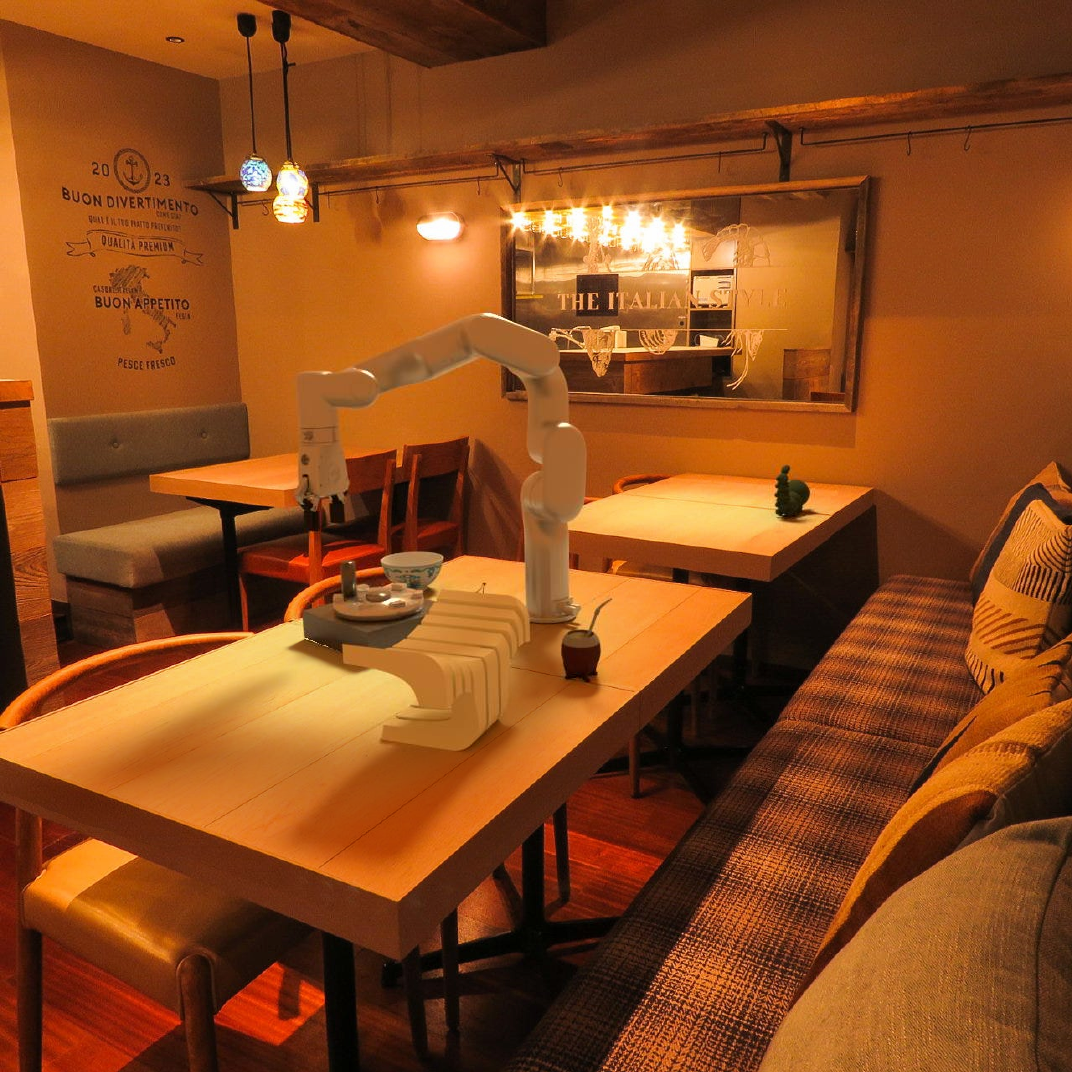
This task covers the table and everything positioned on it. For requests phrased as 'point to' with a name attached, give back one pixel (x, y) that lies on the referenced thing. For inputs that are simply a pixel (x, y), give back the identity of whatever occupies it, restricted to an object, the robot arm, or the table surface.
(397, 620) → the housing
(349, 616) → the round turntable with post
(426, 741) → the slatted curved stool
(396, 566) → the chinaware
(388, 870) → the table surface
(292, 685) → the table surface
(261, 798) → the table surface
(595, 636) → the mate gourd
